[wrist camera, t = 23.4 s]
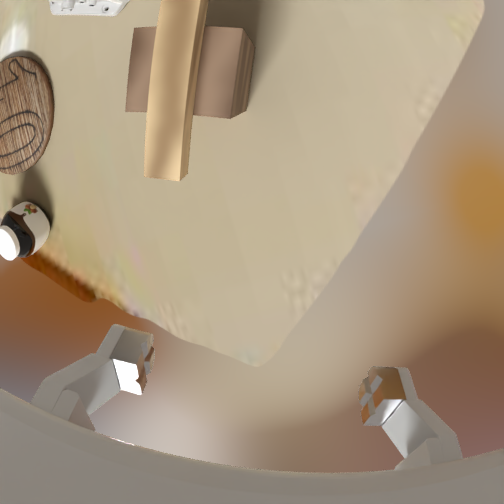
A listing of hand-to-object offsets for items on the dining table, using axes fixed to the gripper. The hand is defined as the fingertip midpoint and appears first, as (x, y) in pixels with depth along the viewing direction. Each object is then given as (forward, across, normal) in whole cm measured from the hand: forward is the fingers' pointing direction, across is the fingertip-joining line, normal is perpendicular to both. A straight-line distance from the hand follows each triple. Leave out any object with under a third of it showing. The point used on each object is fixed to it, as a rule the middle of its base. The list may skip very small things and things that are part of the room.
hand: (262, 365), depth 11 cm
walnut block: (+41, +11, -10) cm, 43 cm away
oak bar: (+26, +12, -9) cm, 30 cm away
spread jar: (+41, +49, +21) cm, 67 cm away
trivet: (+42, +53, -3) cm, 68 cm away
